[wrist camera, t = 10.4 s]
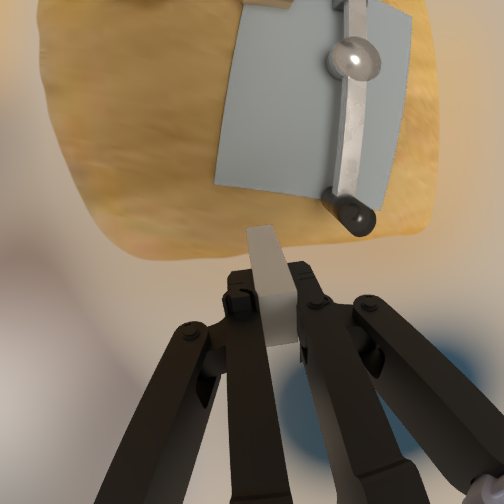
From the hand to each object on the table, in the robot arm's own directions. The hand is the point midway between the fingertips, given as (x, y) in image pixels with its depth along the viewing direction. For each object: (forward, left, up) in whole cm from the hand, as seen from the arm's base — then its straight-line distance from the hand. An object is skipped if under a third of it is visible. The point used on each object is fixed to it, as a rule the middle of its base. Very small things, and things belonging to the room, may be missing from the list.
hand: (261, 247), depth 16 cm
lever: (-12, +7, -12) cm, 19 cm away
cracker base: (-13, +6, -14) cm, 20 cm away
